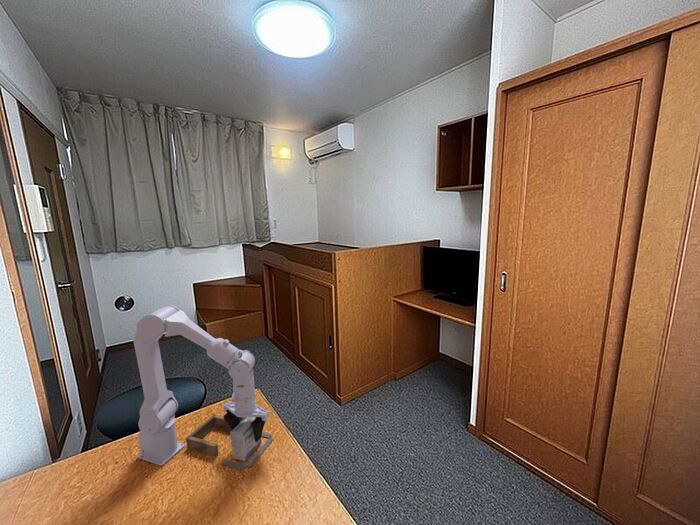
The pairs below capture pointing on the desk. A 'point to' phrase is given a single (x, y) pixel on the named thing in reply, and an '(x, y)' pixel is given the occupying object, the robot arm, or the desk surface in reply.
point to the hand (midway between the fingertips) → (247, 436)
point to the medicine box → (243, 439)
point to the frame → (255, 458)
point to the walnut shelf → (196, 437)
